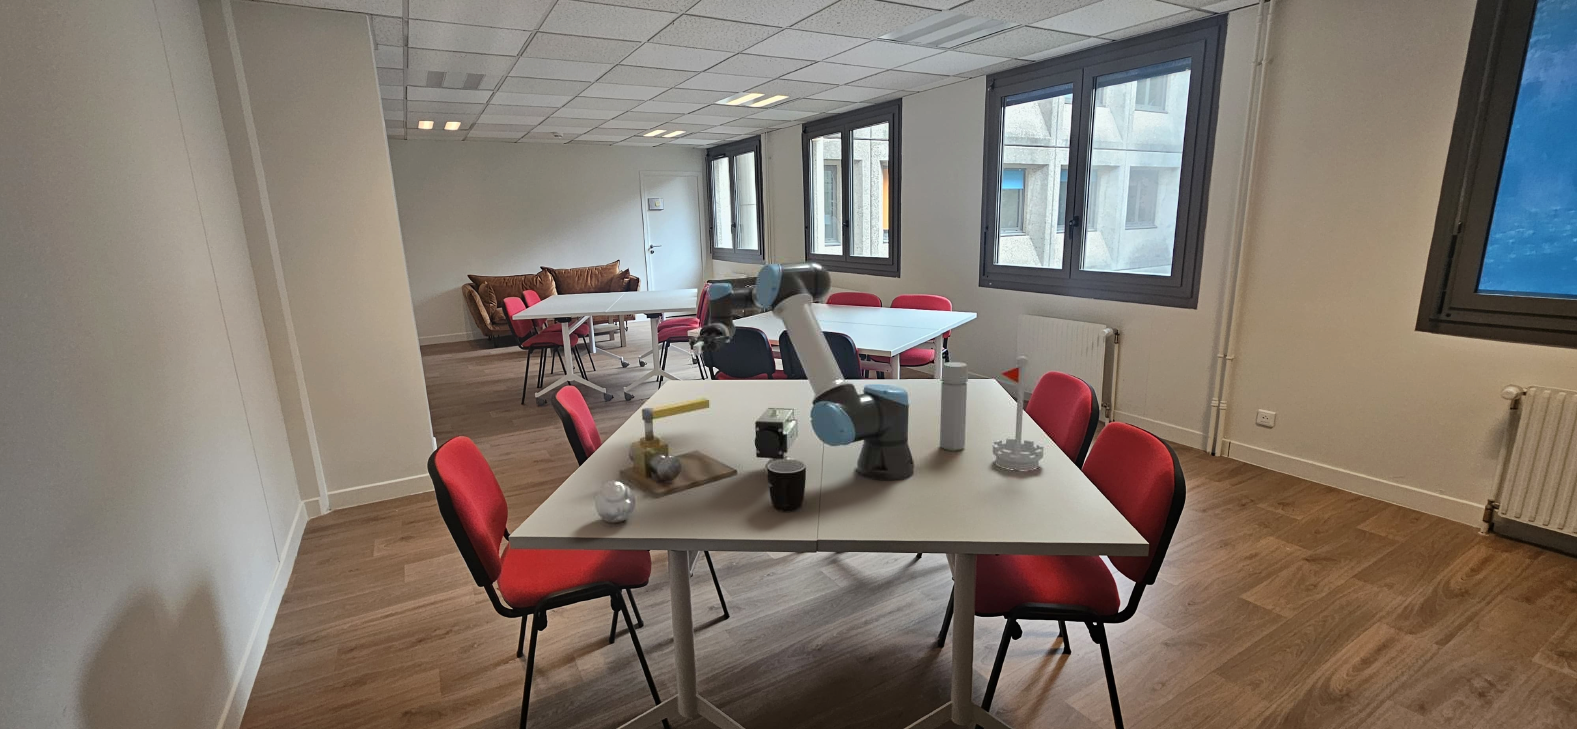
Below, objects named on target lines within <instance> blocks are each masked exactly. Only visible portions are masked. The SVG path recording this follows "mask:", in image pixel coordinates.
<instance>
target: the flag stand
mask: <svg viewBox="0 0 1577 729" xmlns="http://www.w3.org/2000/svg"><path fill="white" fill-rule="evenodd" d="M1016 365H1017V367H1015V368H1012V369H1010V370H1007V371H1005V372H1002V373H1001V375H1003V376H1005V377H1007V378H1008V379H1010V380H1012V381H1014V382H1015V383H1017V399H1016V400H1017V402H1016V418H1015V419H1016V420H1015V437H1007V438H1006V441H1005V442H1004V441H1003V440H1002V439H995V440H994V442H993V444H992V454H993V455H994V457H995V464H996V463H997V464H998V465H1000V466H1001V467H1004V468H1009V469H1013V470H1030V469H1034V468H1036V467H1038V468H1039V466H1038V465H1039V464H1040V462H1039V461H1040V460H1042V459H1043V457H1044V445H1043V444H1041V443H1037V444H1036V445H1035V441H1034V440H1031V439H1026V438H1025V439H1024V440H1023V442H1022V432H1023V431H1022V430H1023V415H1024V414H1023V413H1024V396H1025V395H1024V393H1025V391H1024V390H1025V377H1026V376H1025V375H1026V367H1027V366H1028V365H1029V360H1028V358H1027V357H1026V356H1022V355H1021V356H1018V357H1017V359H1016ZM997 464H996V465H997ZM998 465H997V466H998ZM1001 467H1000V468H1001ZM1004 468H1003V469H1004Z"/></svg>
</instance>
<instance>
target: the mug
mask: <svg viewBox="0 0 1577 729" xmlns="http://www.w3.org/2000/svg"><path fill="white" fill-rule="evenodd" d="M767 470H768V475H767V481H768V482H767V483H768V490H769V496H770V499H771V503H772V506H773V508H774V509H775V510H777V511H779V512H786V511H789V512H794V511H797V510H799V509H800V508H801V506H802V505H803V502H804V498H805V497H804V496H805V492H806V478H807V476H806V474H807V467H806V463H805V462H803V461H801V460H798V459H794V460H792V459H783V460H777V461H774V462H771V463H770V464H769V465H768V468H767Z"/></svg>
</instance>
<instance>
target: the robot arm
mask: <svg viewBox="0 0 1577 729" xmlns="http://www.w3.org/2000/svg"><path fill="white" fill-rule="evenodd" d="M755 282H756V283H755V286H748V287H738V288H737V287H736V288H735V287H734V288H733V287H732V284H731V283H729V282H728V283H727V282H721V283H720V282H719V283H717V282H715V283H712V284H710V285H709V287H708V298H707V299H708V307H709V309H708V310H709V325H708V326H706V327H705V328H704V329H703V330H702V331H701V334H700V335H698V336H697V337H696V336H693V335H689V336H688V340H689V342H688V344H689V345H690V350H691V351H692V352H693V356H700V355H701V354H703V353H704V352H705V351H710V350H711V351H715V350H716V351H717V350H719V349H721V348H722V347H725V346H730V345H731V340H732V339H733V337H734V335H735V333H736V326H735V323H734V322H733V318H734V316H733V312H740V311H741V312H743V311H750V310H751V311H752V310H764V309H769V308H770V310H771V312H772V315H773V316H774V317H775V318H776V319H777V320H781V321H782V323H783V325H784V328H785V330H786V332H787V334H788V337H789V339H790V341H791V344H792V346H793V348H794V350H795V352H796V354H797V358H798V359H799V362H800V364H801V366H802V368H803V371H804V373H805V375H806V378H807V380H808V382H809V385H810V387H811V389H812V392H813V394H814V397H813V399H812V402H811V404H812V407H811V410H810V415H809V416H810V418H811V420H810V423H811V428H812V429H813V430H812V431H814V434H815V435H816V436H817V438H818V439H819V441H821V442H822V443H823V444H826V445H828V446H829V447H839V446H847V445H851V444H853V443H856V442H861V441H863V444H862V446H861V449H860V452H859V455H858V458H857V462H856V470H857V472H858V473H859V474H860V475H862V476H863V477H866V478H869V479H874V480H881V481H896V480H903V479H906V478H909V477H910V476H912V475H914V472H915V462H914V459H913V456H912V452H911V450H910V447H909V441H908V440H909V436H908V435H909V409H910V404H909V394H908V392H907V390H905V389H904V388H901V387H898V386H894V385H887V384H877V383H874V384H873V383H872V384H866V385H864V387H863V390H862V392H863V393H858V391H857V389H856V387H855V385H854V384H853V383H851V382H849V381H846V379H845V378H844V375H843V374H842V372H841V369H840V367H839V365H838V363H837V360H836V358H835V356H834V353H833V352H832V350H831V348H830V345H829V343H828V340H827V339H826V337H825V334H824V332H823V331H822V328H821V326H820V323H819V321H818V319H817V317H816V314H815V313H814V311H813V309H812V306H813V303H815V302H819V301H820V300H822V299H824V298H825V297H826V296H827V295H828V294H829V292H830V290H831V285H832V279H831V275H830V273H829V270H828V269H826V267H825V266H823V265H822V264H820V263H818V262H815V261H800V262H799V261H798V262H786V263H785V262H783V263H780V262H775V263H770V264H769V263H768V264H765V265H763V266H762V267H761V268H760V269H759V271H758V273H757V276H756V279H755Z"/></svg>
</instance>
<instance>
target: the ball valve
mask: <svg viewBox="0 0 1577 729" xmlns="http://www.w3.org/2000/svg"><path fill="white" fill-rule="evenodd" d="M754 426H755V428H754V429H755V432H754V433H755V438H754V446H755V456H756V458H761V459H768V461H767V462H766V463H765V466H764V471H765V473H766V475H767V476H768V470H767V468H768V465H769V464H770V463H771V462H774V461H777V460H783V459H792V460H795V459H794V458H793V457H790V456H786V455H787V454H788V453H789V451H790V449H791V447H792V446H793V444H794V443H795V441H796V439H797V437H798V435H799V434H798V419H796V418H795V411H794V408H782V407H781V408H780V407H779V408H778V407H776V408H775V407H768V408H767V409H766V410H765V411H764V412H763V413H762V414H761V416H759V417H758V419H757V420H755V422H754Z"/></svg>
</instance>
